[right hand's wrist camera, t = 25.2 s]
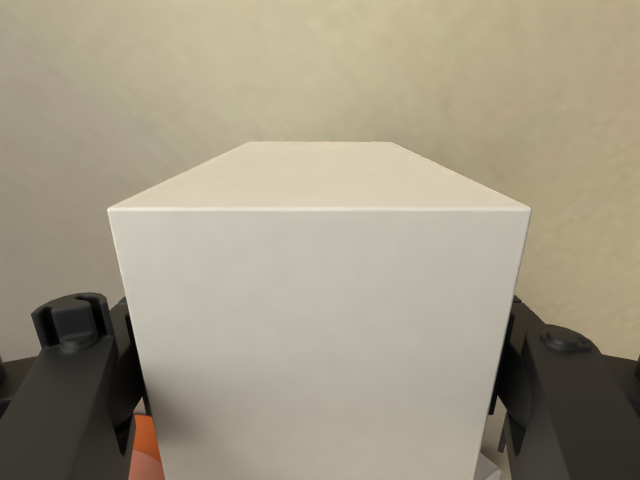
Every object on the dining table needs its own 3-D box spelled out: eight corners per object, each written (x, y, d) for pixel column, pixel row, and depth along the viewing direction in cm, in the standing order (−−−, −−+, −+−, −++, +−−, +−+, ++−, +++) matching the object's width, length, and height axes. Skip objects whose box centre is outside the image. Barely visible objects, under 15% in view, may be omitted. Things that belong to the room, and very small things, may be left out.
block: (381, 293, 19) (462, 537, 8) (258, 293, 19) (176, 537, 8) (392, 141, 16) (535, 207, 5) (247, 141, 16) (104, 207, 5)
